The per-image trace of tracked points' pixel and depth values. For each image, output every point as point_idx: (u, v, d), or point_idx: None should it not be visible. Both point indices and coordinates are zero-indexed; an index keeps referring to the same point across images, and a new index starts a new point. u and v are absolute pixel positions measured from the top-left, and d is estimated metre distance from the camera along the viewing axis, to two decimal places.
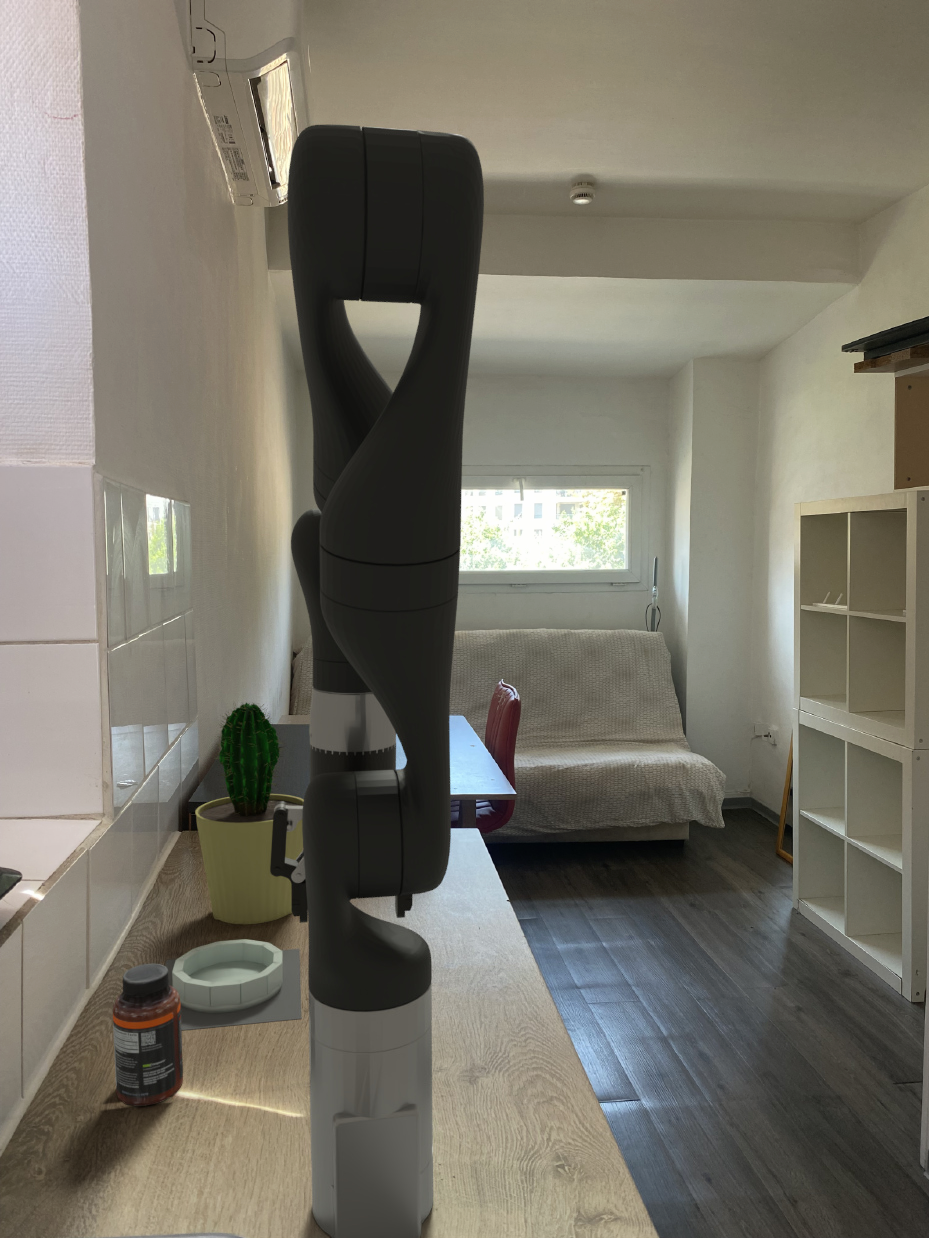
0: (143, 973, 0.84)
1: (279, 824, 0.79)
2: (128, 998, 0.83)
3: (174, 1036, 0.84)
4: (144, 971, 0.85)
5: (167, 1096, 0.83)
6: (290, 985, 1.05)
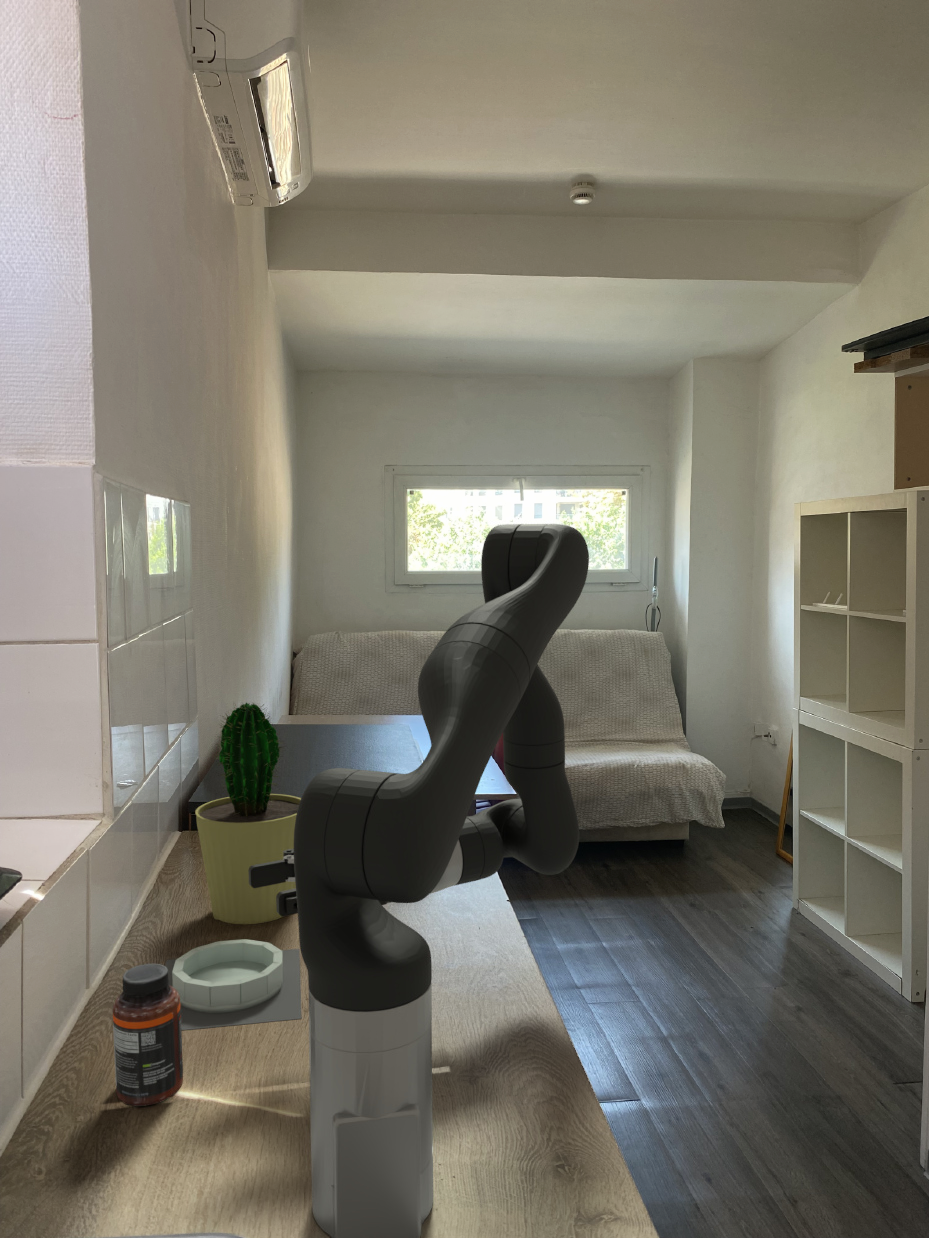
0: (143, 973, 0.84)
1: None
2: (128, 998, 0.83)
3: (174, 1035, 0.84)
4: (144, 971, 0.85)
5: (167, 1096, 0.83)
6: (290, 985, 1.05)
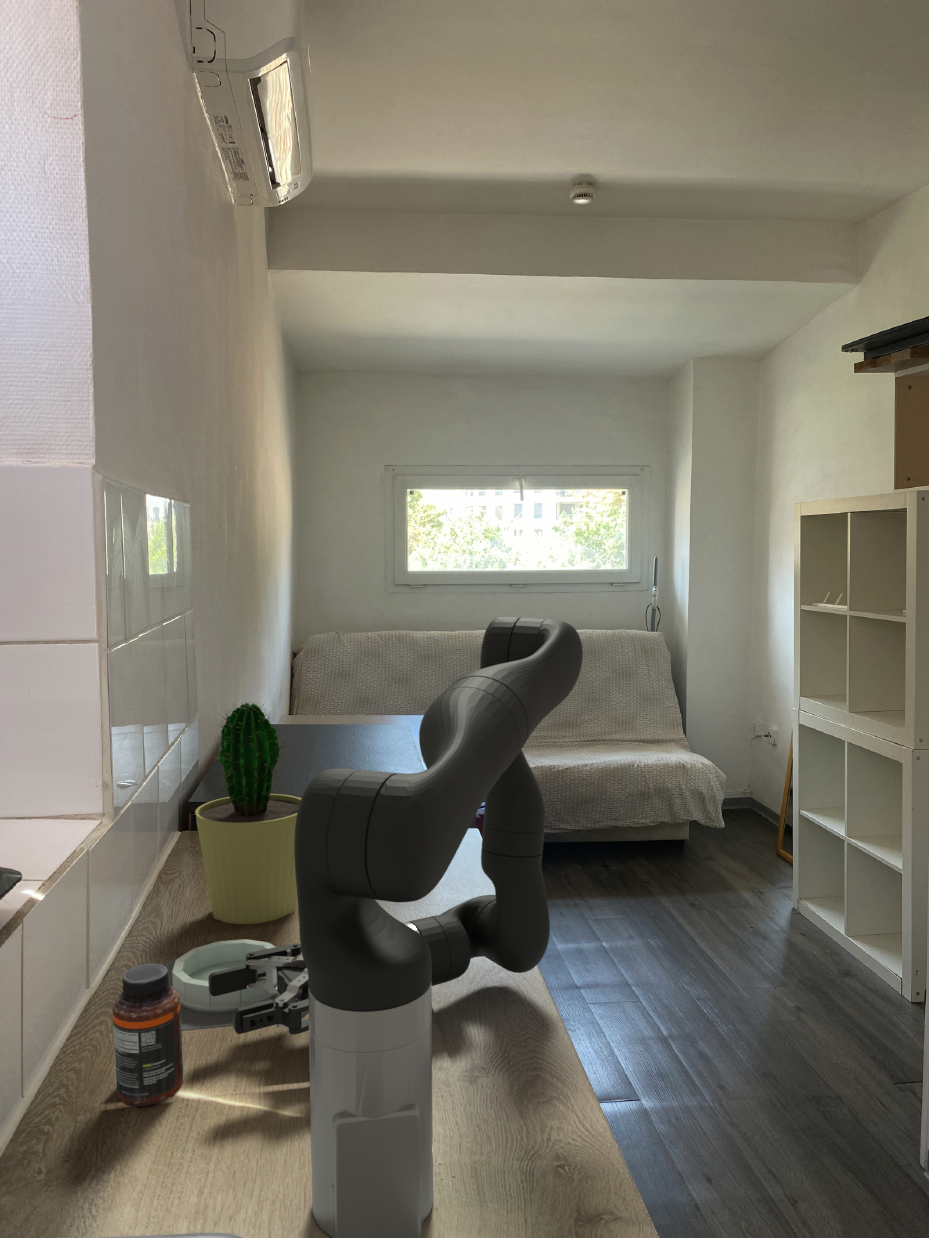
0: (143, 973, 0.84)
1: (288, 946, 0.98)
2: (128, 998, 0.83)
3: (174, 1035, 0.84)
4: (144, 971, 0.85)
5: (167, 1096, 0.83)
6: None
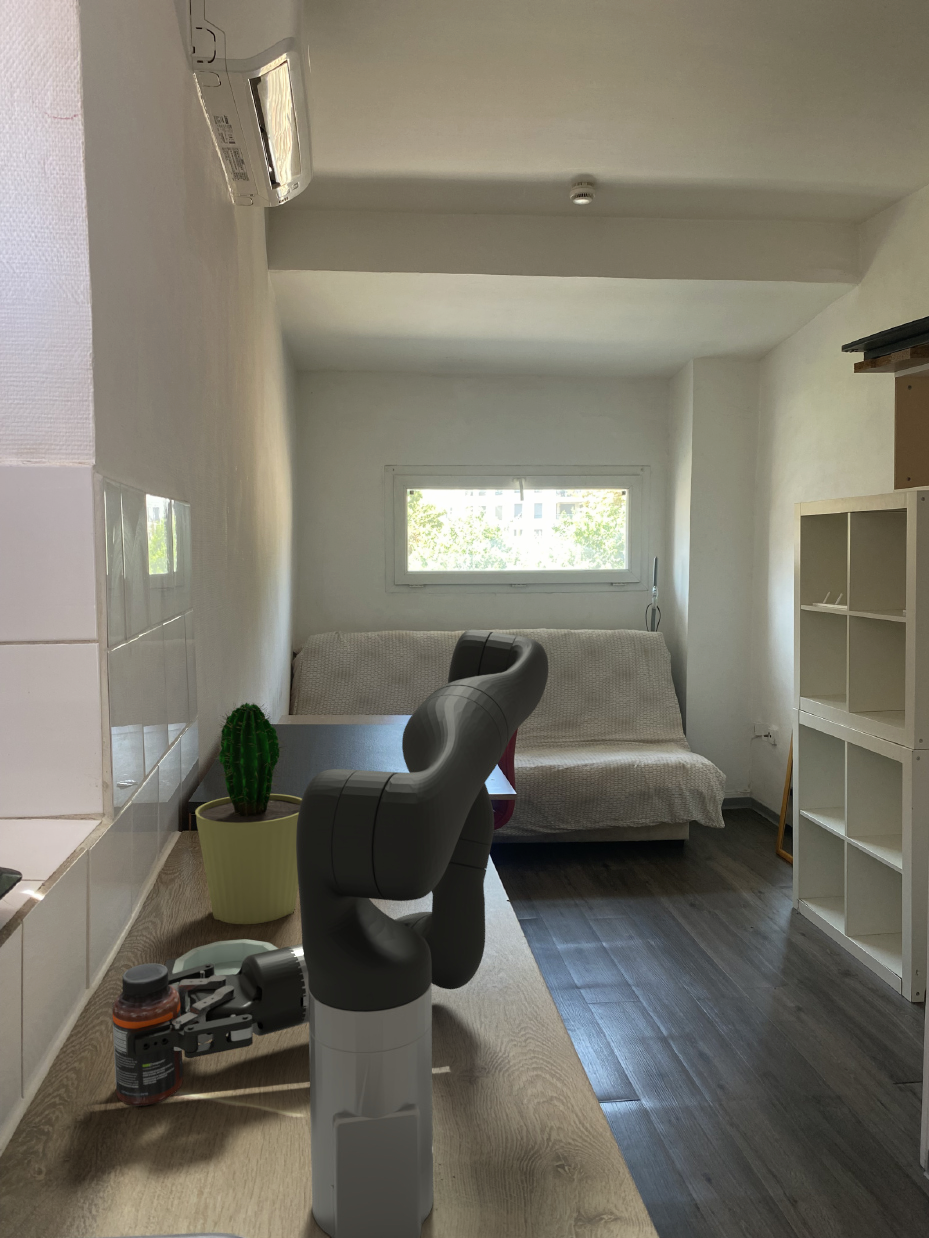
0: (143, 973, 0.84)
1: (201, 967, 0.93)
2: (128, 998, 0.83)
3: None
4: (144, 971, 0.85)
5: (167, 1096, 0.83)
6: None
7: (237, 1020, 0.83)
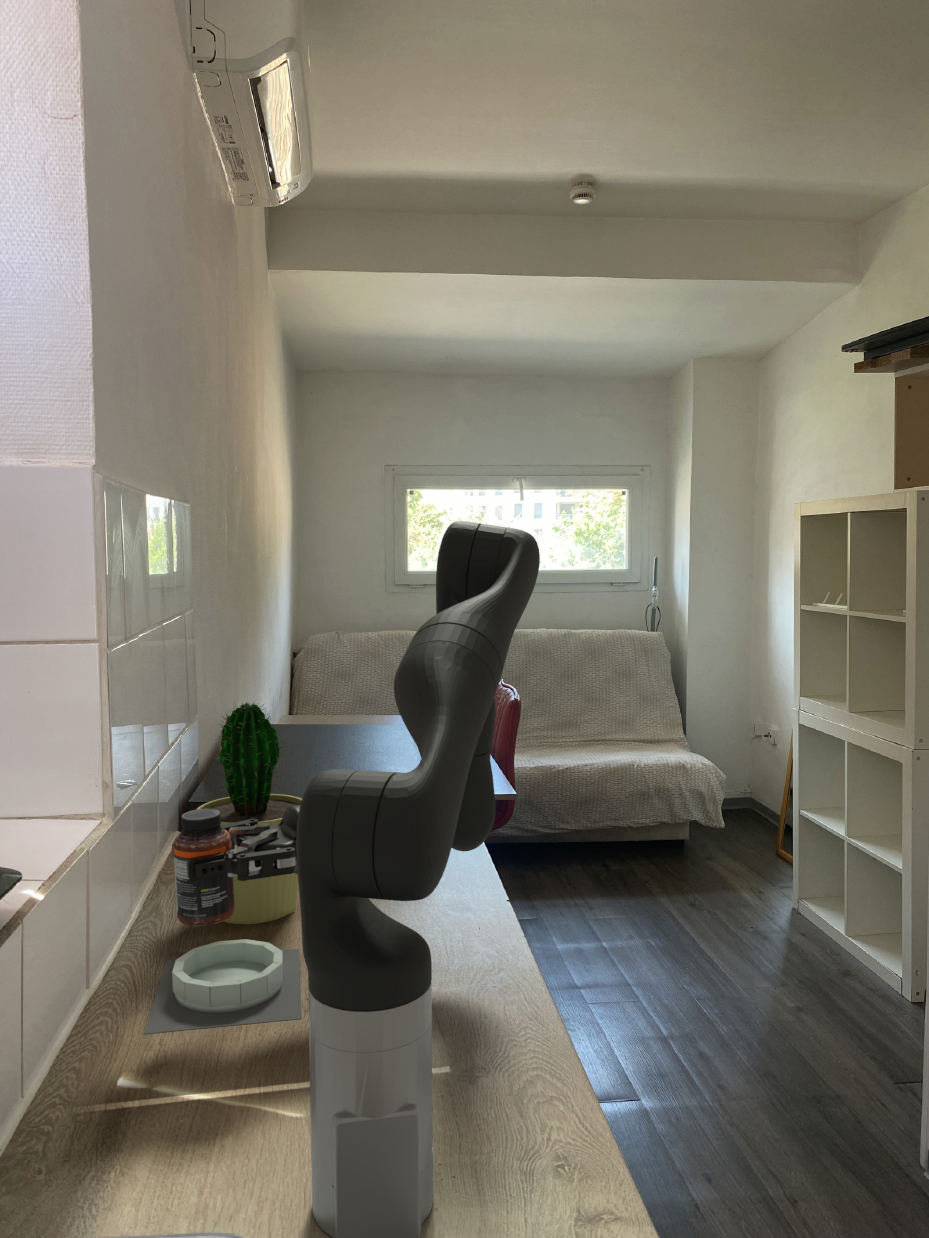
0: (199, 814, 0.97)
1: (246, 821, 1.06)
2: (187, 834, 0.95)
3: None
4: (199, 812, 0.97)
5: (222, 919, 0.96)
6: (290, 985, 1.05)
7: (282, 851, 0.95)
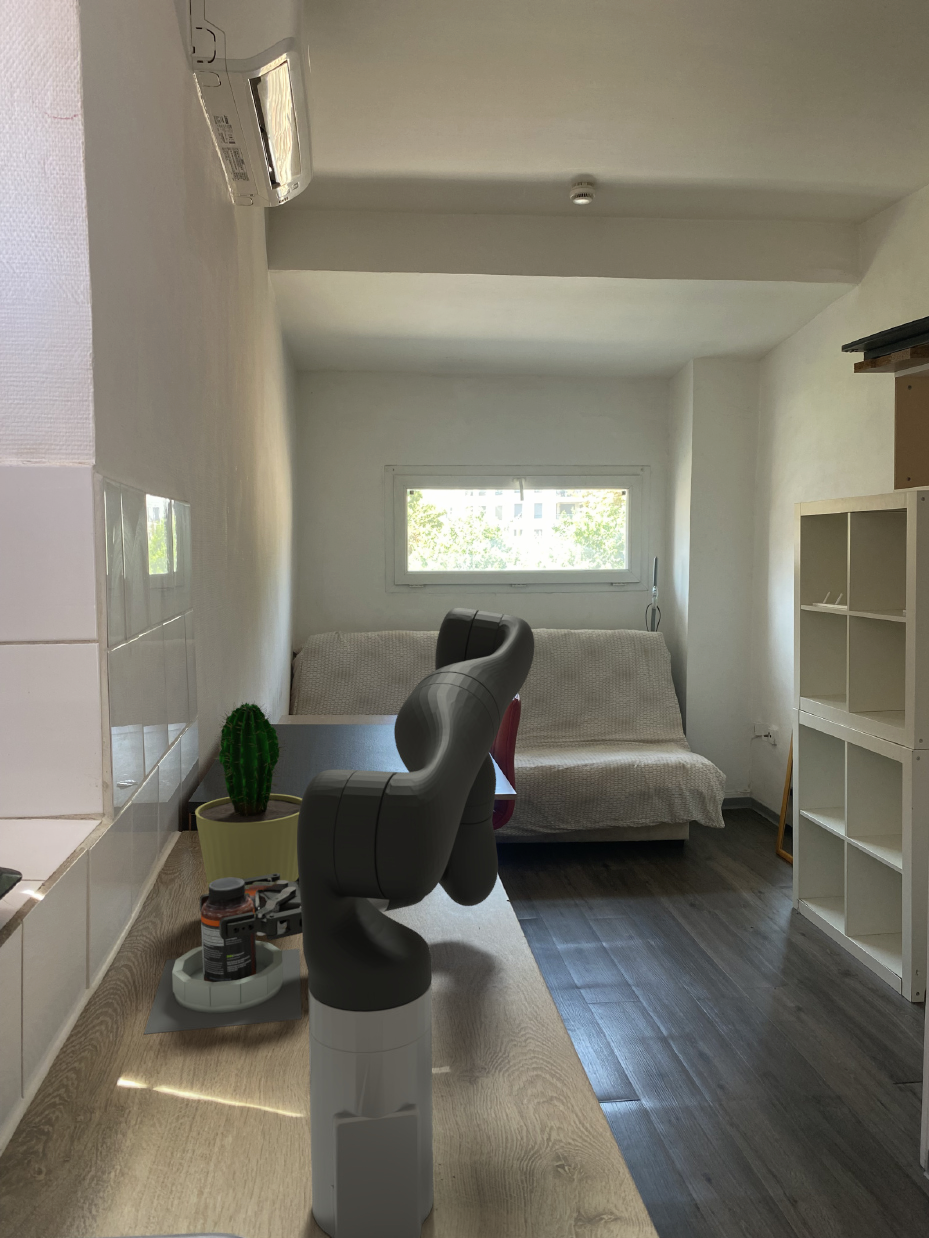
0: (225, 884, 1.04)
1: (269, 875, 1.13)
2: (214, 903, 1.03)
3: (251, 934, 1.04)
4: (225, 882, 1.04)
5: None
6: (290, 985, 1.05)
7: None
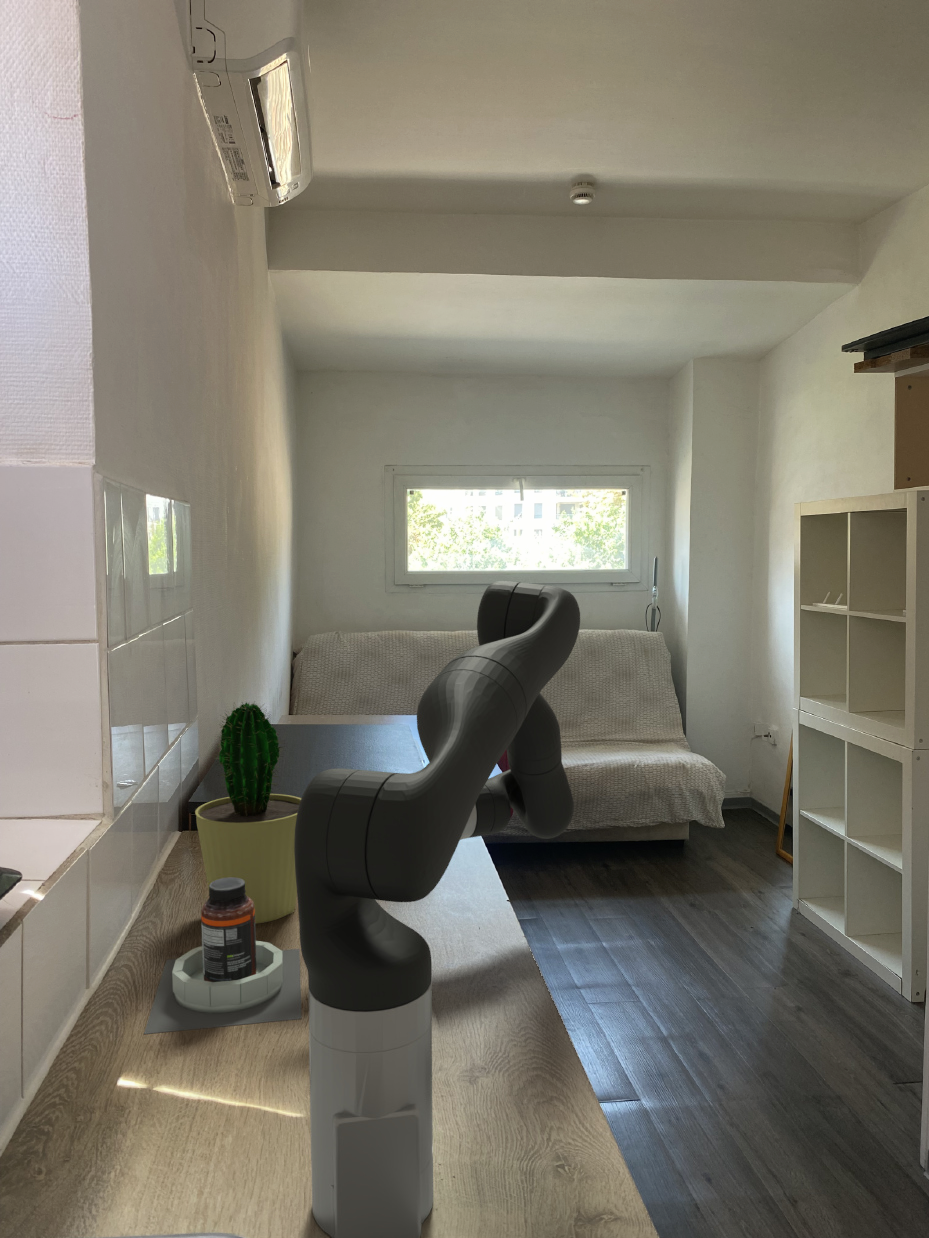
0: (225, 884, 1.04)
1: None
2: (214, 903, 1.03)
3: (251, 934, 1.04)
4: (226, 882, 1.04)
5: None
6: (290, 985, 1.05)
7: None
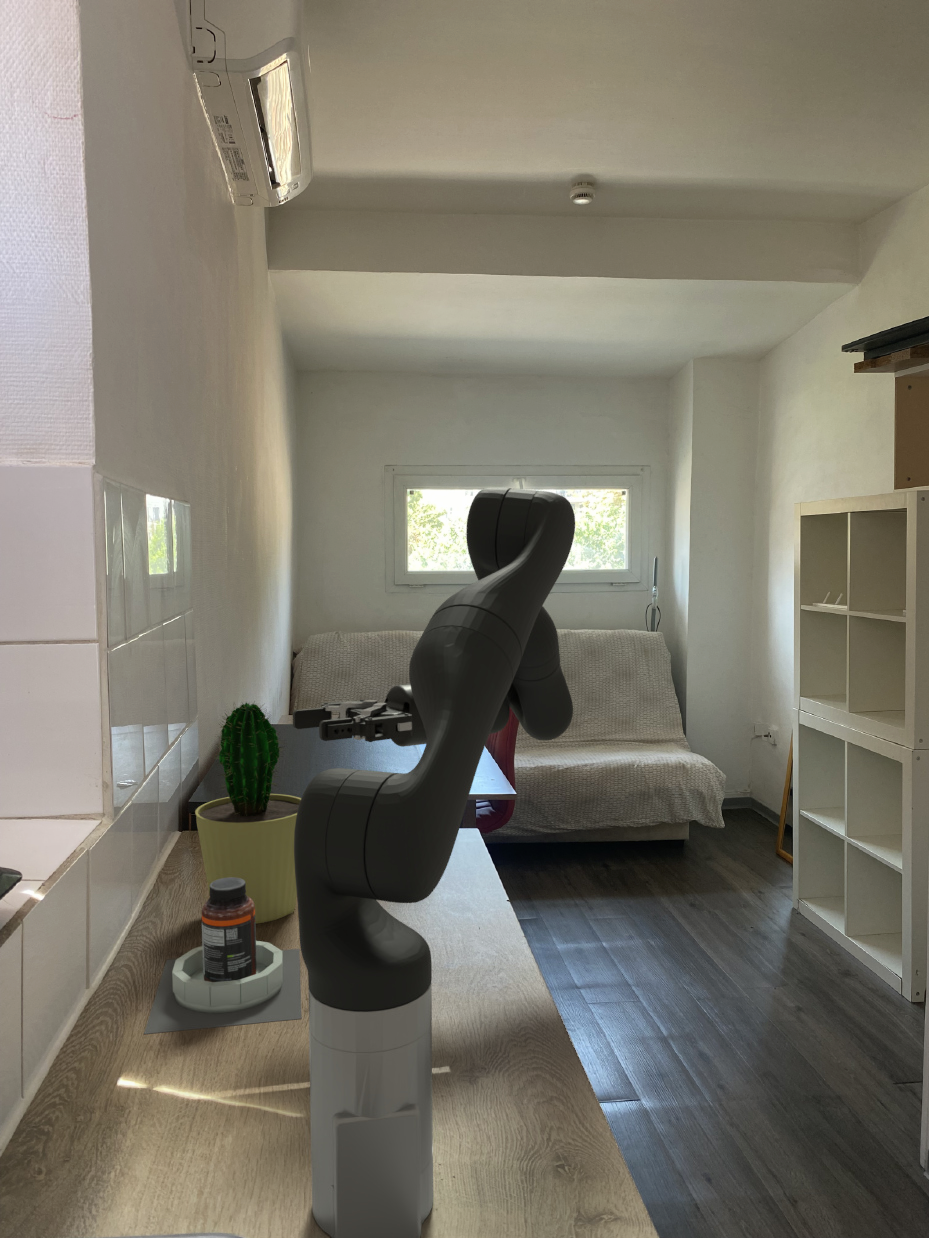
0: (226, 883, 1.04)
1: (356, 701, 1.16)
2: (215, 903, 1.03)
3: (251, 934, 1.04)
4: (226, 882, 1.04)
5: None
6: (290, 985, 1.05)
7: (402, 715, 1.05)
